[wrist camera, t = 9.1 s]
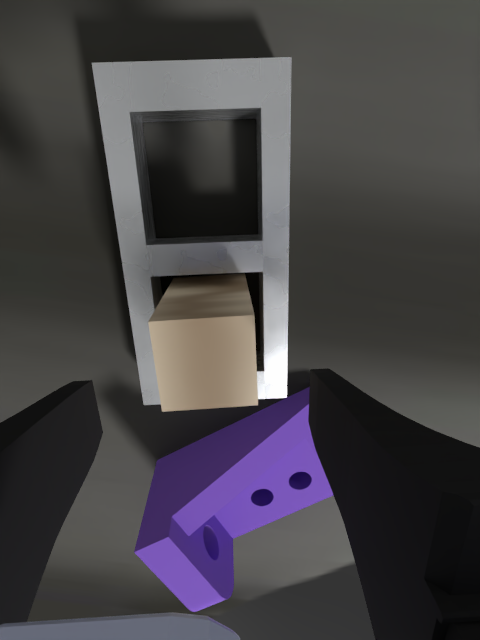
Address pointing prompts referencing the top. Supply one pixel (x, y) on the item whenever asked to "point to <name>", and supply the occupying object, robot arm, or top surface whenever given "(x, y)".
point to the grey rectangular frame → (208, 251)
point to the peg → (205, 344)
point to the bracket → (227, 497)
